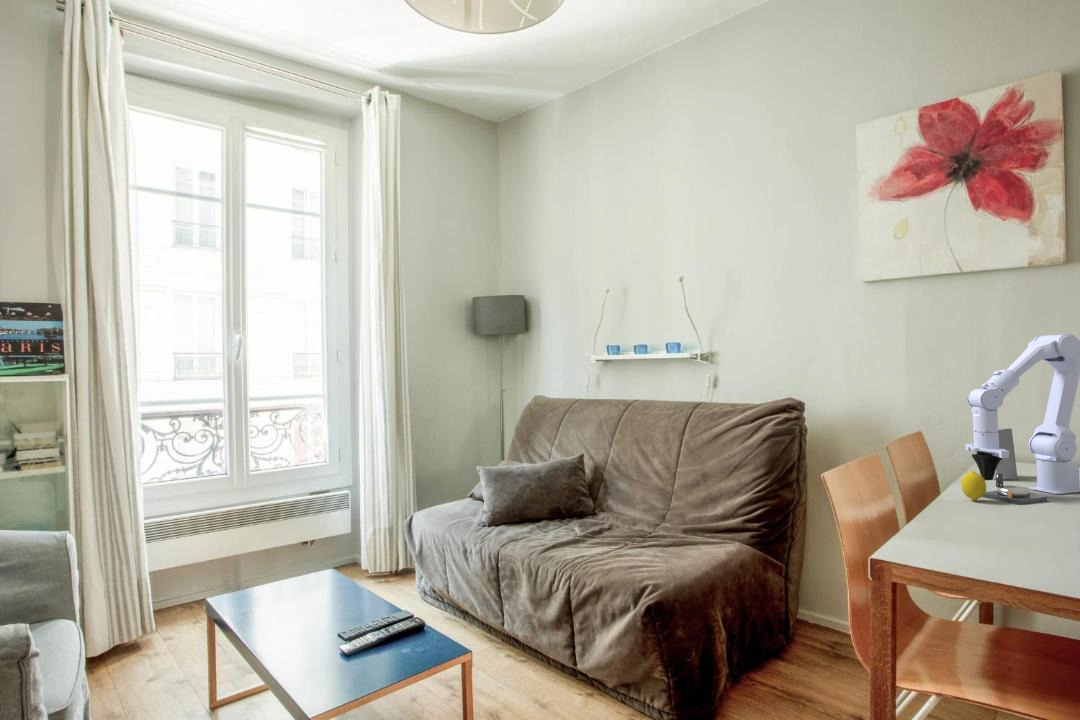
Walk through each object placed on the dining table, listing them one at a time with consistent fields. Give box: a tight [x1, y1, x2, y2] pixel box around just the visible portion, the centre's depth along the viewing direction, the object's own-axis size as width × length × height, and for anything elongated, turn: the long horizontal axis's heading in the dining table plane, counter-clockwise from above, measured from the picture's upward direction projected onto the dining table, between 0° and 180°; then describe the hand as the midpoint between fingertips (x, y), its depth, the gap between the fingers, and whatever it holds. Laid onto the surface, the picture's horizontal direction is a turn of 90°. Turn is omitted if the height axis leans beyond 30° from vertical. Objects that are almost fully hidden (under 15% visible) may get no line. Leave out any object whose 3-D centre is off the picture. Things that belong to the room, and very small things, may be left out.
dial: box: [995, 473, 1031, 497], centre depth 166 cm, size 7×7×5 cm
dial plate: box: [982, 490, 1048, 506], centre depth 166 cm, size 10×10×3 cm
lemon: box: [960, 470, 987, 502], centre depth 165 cm, size 6×6×8 cm
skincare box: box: [979, 426, 1018, 481], centre depth 193 cm, size 8×7×16 cm
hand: (987, 479), depth 172 cm, fingers closed
